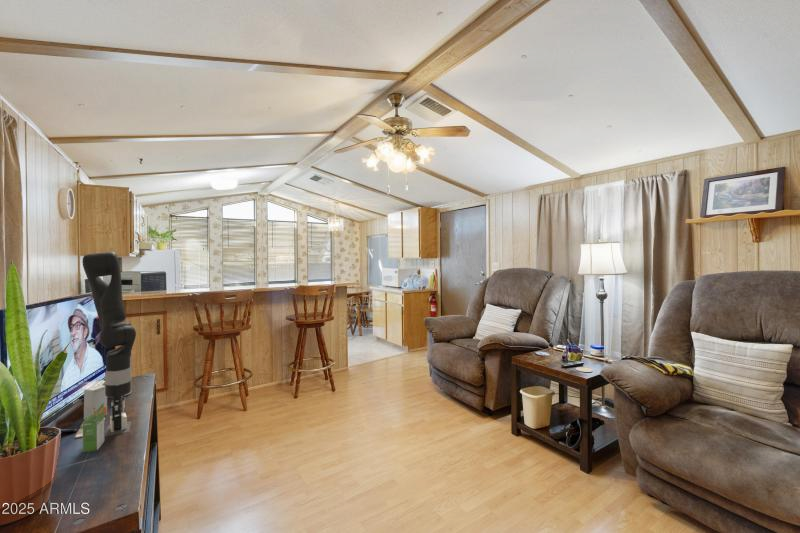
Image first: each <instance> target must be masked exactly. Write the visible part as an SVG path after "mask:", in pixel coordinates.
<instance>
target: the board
mask: <svg viewBox="0 0 800 533" xmlns="http://www.w3.org/2000/svg"><path fill="white" fill-rule="evenodd" d="M106 420H107V418H106V417H104V424H105V423H106ZM83 422H84V421H82V422H81V424H80V425H79V428H78V429H77V432H76V434H75V435H74V437H73V439H74V440H77V439H83Z"/></svg>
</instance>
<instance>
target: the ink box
mask: <svg viewBox="0 0 800 533" xmlns="http://www.w3.org/2000/svg"><path fill="white" fill-rule="evenodd" d="M101 408H102V411H101V412H100V413H99V411H100V409H101ZM104 418H105V416H104V403H103V404H102V405H101V406H100V407H99V408H98V409H97V414H93V415H90V416H89V417H88V418H87V419H86V420H83V421H82V422H83V438H82V453H89V452H95V451H98V450H99V449H100V448H101V447H102V445H103V443H104V442H105V423H104Z"/></svg>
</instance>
